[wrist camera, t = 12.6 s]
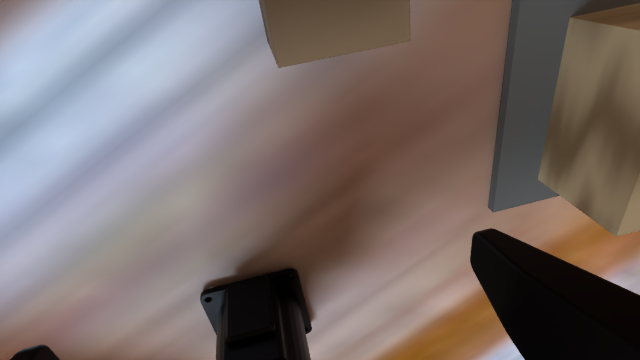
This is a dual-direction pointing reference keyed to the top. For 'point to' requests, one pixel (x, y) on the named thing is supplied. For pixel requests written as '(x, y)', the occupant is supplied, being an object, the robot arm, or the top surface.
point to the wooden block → (598, 120)
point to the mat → (531, 95)
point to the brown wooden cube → (332, 27)
